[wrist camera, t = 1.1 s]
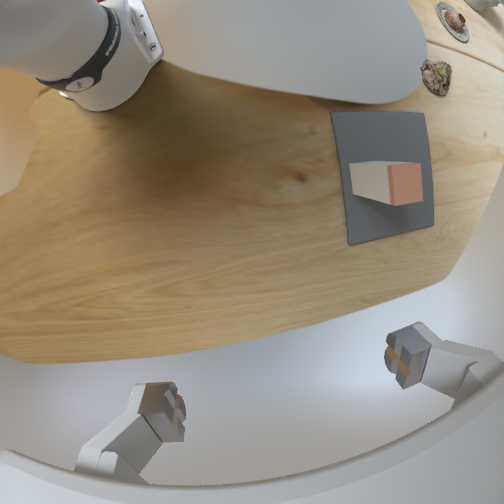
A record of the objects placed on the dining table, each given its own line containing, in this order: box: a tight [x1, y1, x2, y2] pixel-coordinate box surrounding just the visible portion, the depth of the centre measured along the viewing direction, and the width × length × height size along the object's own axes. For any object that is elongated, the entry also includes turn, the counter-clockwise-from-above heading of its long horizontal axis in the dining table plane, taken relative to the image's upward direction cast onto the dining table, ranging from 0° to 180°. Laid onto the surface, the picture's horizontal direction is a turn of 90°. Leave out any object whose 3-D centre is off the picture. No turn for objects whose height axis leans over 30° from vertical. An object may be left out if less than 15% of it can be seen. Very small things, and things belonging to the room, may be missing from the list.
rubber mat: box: [330, 111, 434, 245], centre depth 41 cm, size 22×20×1 cm
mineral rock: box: [420, 60, 452, 95], centre depth 35 cm, size 11×4×8 cm
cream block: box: [349, 161, 423, 206], centre depth 35 cm, size 5×5×12 cm
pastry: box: [436, 2, 469, 42], centre depth 29 cm, size 12×12×5 cm
